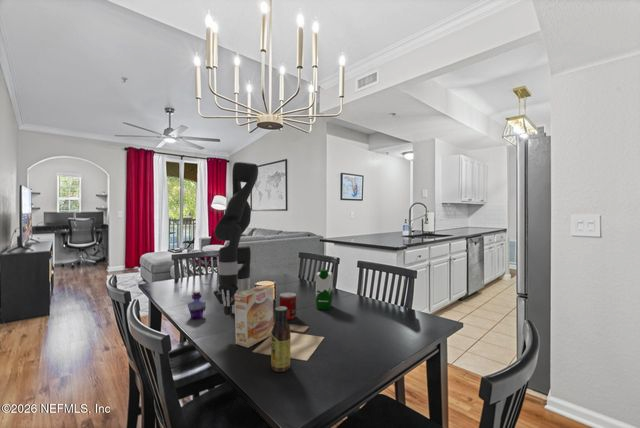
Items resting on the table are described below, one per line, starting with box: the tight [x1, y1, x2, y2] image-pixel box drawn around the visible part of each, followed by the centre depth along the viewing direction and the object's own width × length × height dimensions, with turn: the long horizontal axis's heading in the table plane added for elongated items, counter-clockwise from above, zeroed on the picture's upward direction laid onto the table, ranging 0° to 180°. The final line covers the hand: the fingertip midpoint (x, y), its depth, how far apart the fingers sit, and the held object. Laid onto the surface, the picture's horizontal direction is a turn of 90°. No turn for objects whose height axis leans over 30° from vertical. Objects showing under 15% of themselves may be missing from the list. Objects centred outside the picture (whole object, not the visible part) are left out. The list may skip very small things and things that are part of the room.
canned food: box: [279, 291, 297, 321], centre depth 147 cm, size 8×8×11 cm
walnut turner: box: [273, 321, 310, 334], centre depth 135 cm, size 21×6×1 cm, turn 72°
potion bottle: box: [187, 291, 207, 320], centre depth 146 cm, size 9×9×12 cm
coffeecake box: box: [234, 285, 274, 349], centre depth 122 cm, size 15×7×20 cm, turn 148°
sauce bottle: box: [270, 305, 291, 373], centre depth 100 cm, size 6×6×20 cm
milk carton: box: [315, 269, 334, 310], centre depth 162 cm, size 9×9×20 cm
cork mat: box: [252, 331, 325, 362], centre depth 117 cm, size 21×20×1 cm
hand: (228, 314), depth 126 cm, fingers closed
